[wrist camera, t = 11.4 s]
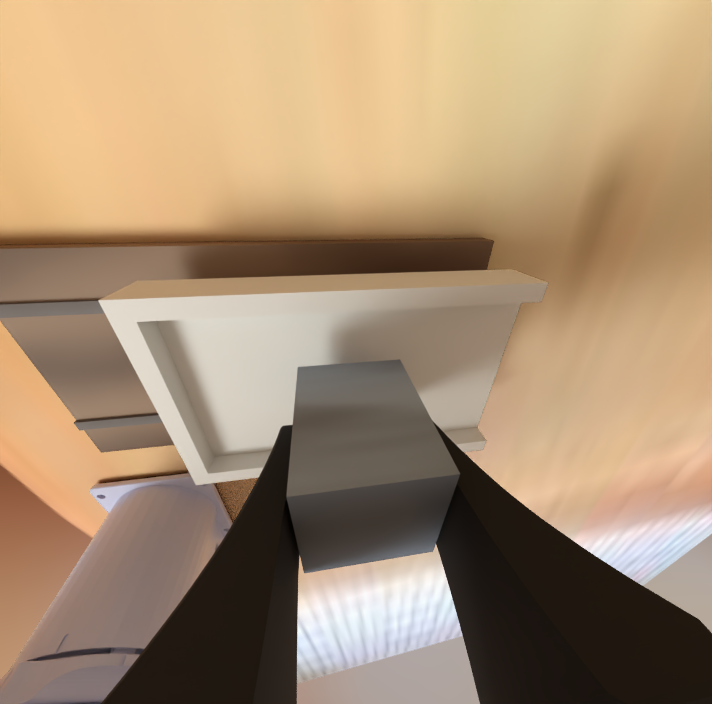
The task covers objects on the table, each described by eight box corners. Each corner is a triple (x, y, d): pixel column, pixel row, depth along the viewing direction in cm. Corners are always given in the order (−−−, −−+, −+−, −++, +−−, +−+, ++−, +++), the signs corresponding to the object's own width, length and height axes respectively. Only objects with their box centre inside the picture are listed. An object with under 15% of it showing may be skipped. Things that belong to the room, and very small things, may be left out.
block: (392, 429, 12) (432, 551, 8) (307, 438, 12) (304, 573, 8) (399, 359, 10) (460, 473, 6) (297, 366, 10) (286, 497, 6)
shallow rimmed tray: (456, 409, 18) (482, 449, 15) (216, 434, 16) (196, 485, 13) (497, 263, 13) (548, 282, 10) (153, 272, 11) (98, 300, 8)
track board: (442, 406, 20) (449, 418, 19) (111, 439, 17) (98, 455, 16) (482, 238, 14) (496, 241, 13) (-26, 245, 11) (-61, 250, 10)
